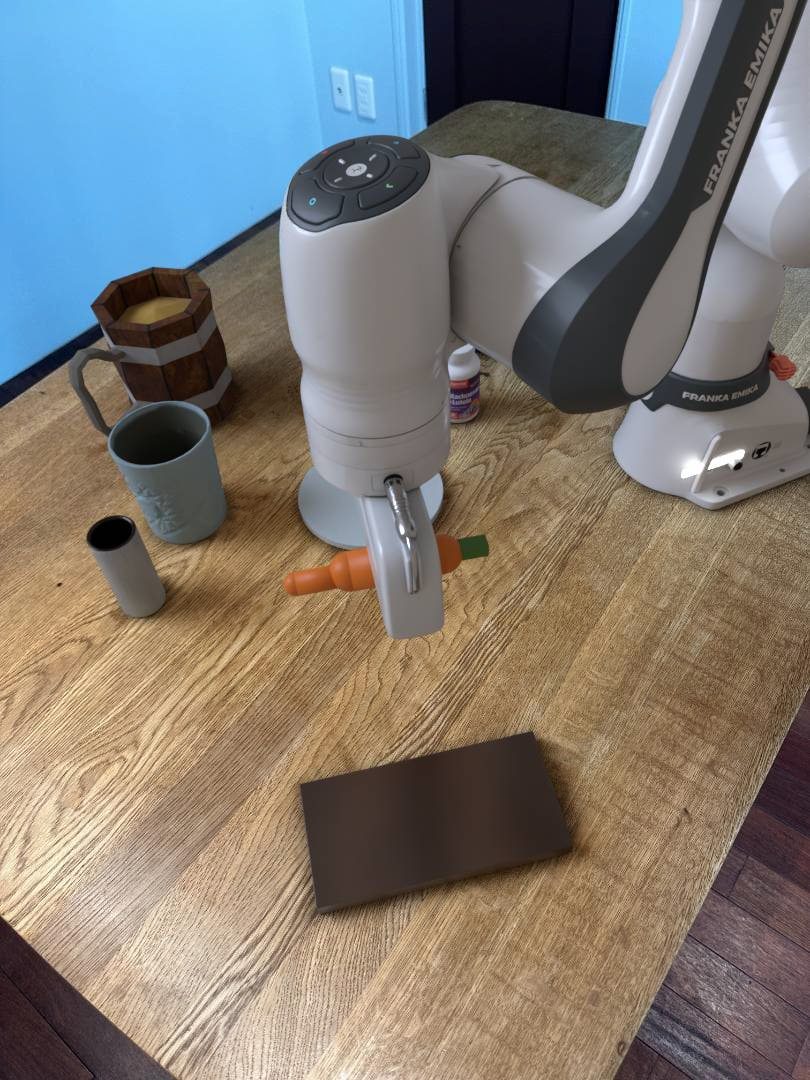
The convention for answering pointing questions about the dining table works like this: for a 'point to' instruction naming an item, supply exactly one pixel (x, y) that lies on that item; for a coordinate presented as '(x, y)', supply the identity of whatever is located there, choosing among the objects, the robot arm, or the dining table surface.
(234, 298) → the dining table surface
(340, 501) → the side plate
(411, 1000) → the dining table surface
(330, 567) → the carrot
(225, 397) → the mug
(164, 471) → the blue cup
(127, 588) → the grey hollow cylinder
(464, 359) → the pill bottle
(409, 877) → the cutting board
